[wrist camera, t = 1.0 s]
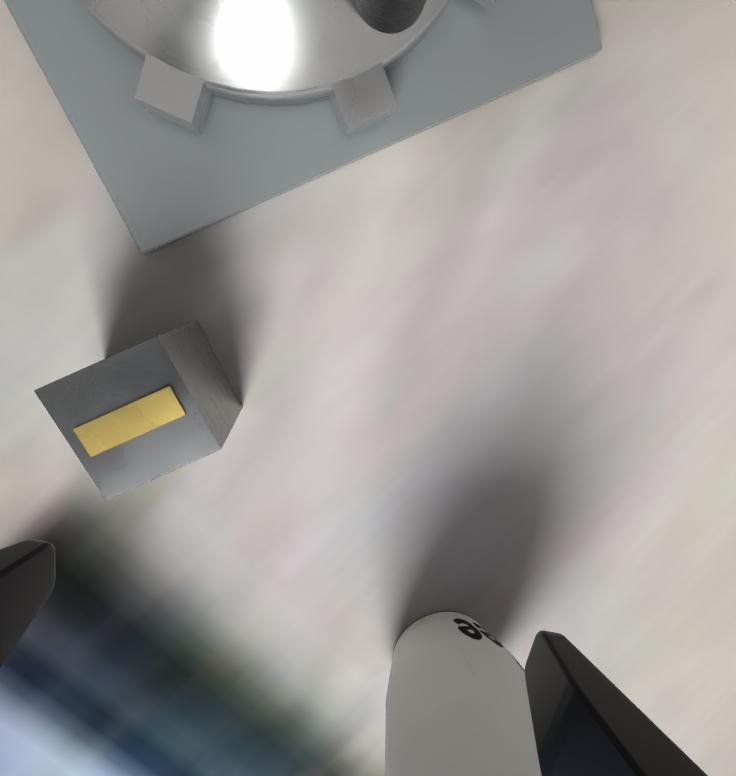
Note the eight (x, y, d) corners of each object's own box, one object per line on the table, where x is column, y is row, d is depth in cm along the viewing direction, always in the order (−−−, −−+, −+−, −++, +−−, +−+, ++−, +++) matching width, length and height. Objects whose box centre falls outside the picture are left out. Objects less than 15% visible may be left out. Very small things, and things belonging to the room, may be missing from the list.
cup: (532, 681, 25) (672, 934, 16) (393, 740, 25) (446, 1033, 15) (490, 560, 23) (621, 766, 13) (338, 623, 23) (358, 878, 13)
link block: (156, 445, 20) (104, 502, 15) (105, 360, 19) (31, 391, 14) (242, 406, 20) (220, 450, 15) (196, 320, 19) (156, 336, 14)
